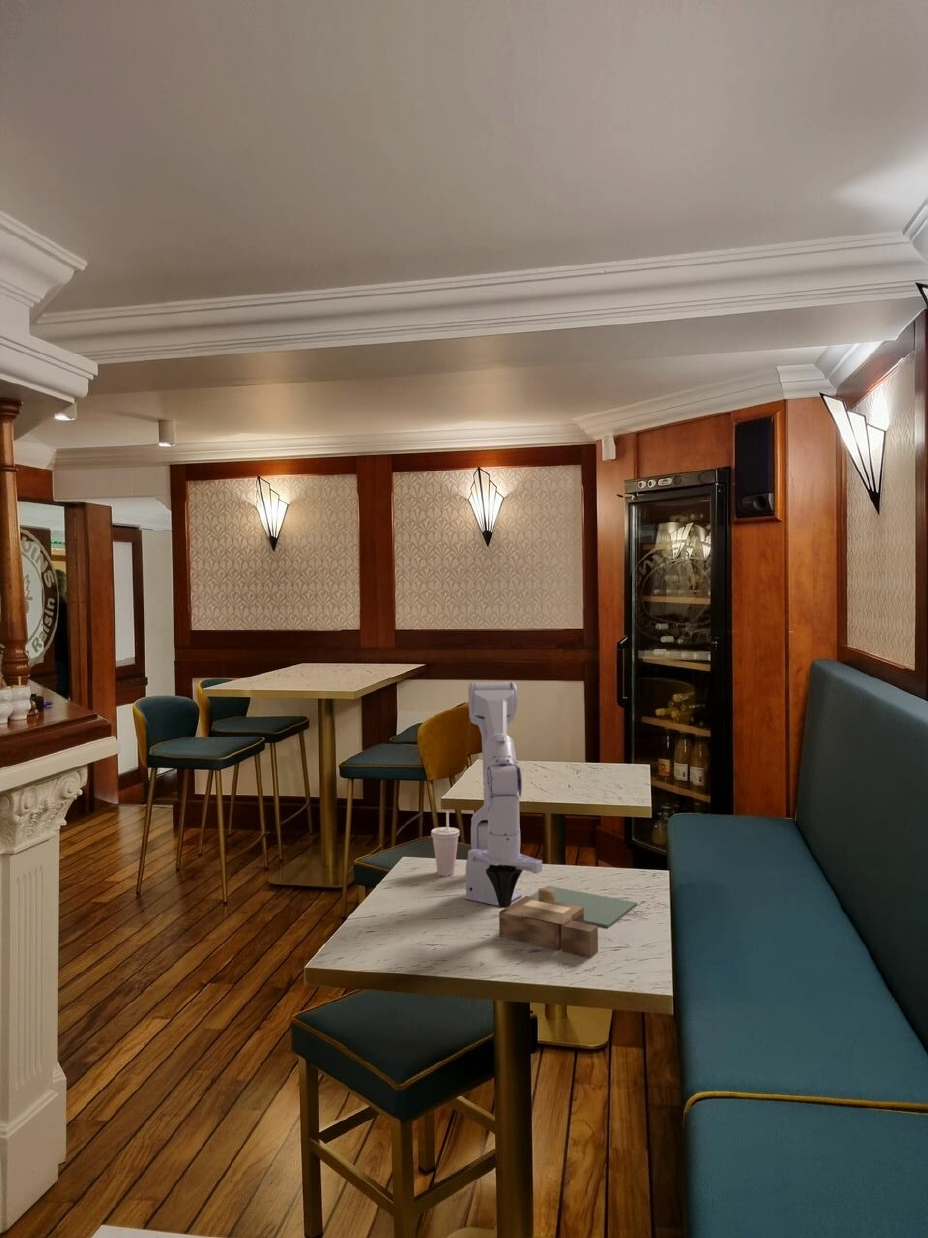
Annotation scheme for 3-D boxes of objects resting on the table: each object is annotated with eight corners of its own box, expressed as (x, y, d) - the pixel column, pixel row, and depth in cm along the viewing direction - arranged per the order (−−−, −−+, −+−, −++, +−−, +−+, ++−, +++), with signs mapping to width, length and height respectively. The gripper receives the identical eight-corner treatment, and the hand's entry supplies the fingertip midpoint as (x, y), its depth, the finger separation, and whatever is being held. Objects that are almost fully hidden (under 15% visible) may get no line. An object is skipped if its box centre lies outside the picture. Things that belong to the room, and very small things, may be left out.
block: (523, 916, 154) (523, 905, 154) (531, 911, 157) (531, 900, 157) (563, 924, 150) (563, 913, 150) (571, 919, 152) (571, 908, 152)
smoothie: (456, 879, 190) (456, 815, 190) (428, 877, 191) (427, 814, 191) (462, 870, 196) (461, 808, 196) (435, 868, 198) (434, 807, 197)
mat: (514, 908, 171) (514, 905, 171) (547, 888, 183) (547, 885, 183) (608, 928, 160) (608, 925, 160) (637, 905, 172) (637, 902, 172)
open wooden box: (499, 936, 157) (499, 912, 157) (526, 919, 165) (526, 895, 165) (590, 958, 147) (590, 931, 147) (614, 938, 155) (614, 913, 155)
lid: (499, 917, 157) (498, 895, 157) (526, 901, 165) (526, 880, 165) (558, 930, 150) (558, 907, 150) (583, 912, 159) (583, 891, 158)
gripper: (458, 831, 158) (459, 905, 159) (528, 842, 150) (529, 920, 151) (479, 822, 164) (480, 894, 164) (547, 833, 156) (548, 908, 156)
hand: (504, 906), depth 158 cm, fingers closed
